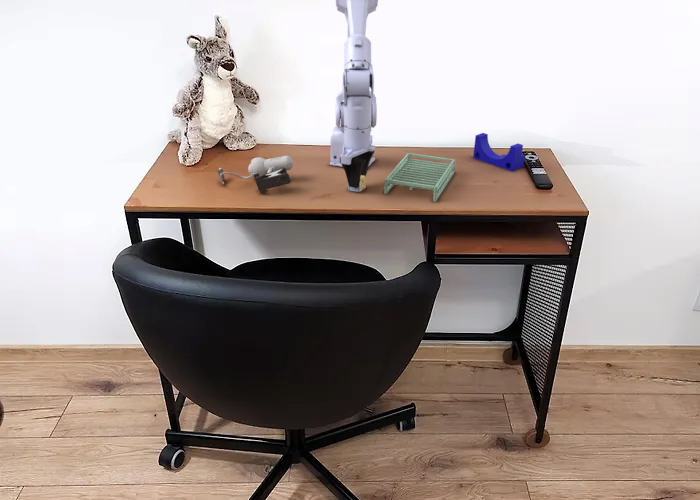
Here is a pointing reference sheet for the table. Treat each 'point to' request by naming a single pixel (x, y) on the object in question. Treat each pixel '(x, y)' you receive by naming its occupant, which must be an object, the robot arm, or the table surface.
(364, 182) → the alphabet block
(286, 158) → the clip-on lamp
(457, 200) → the table surface
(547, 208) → the table surface
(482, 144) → the blue cradle bracket
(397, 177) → the rack
